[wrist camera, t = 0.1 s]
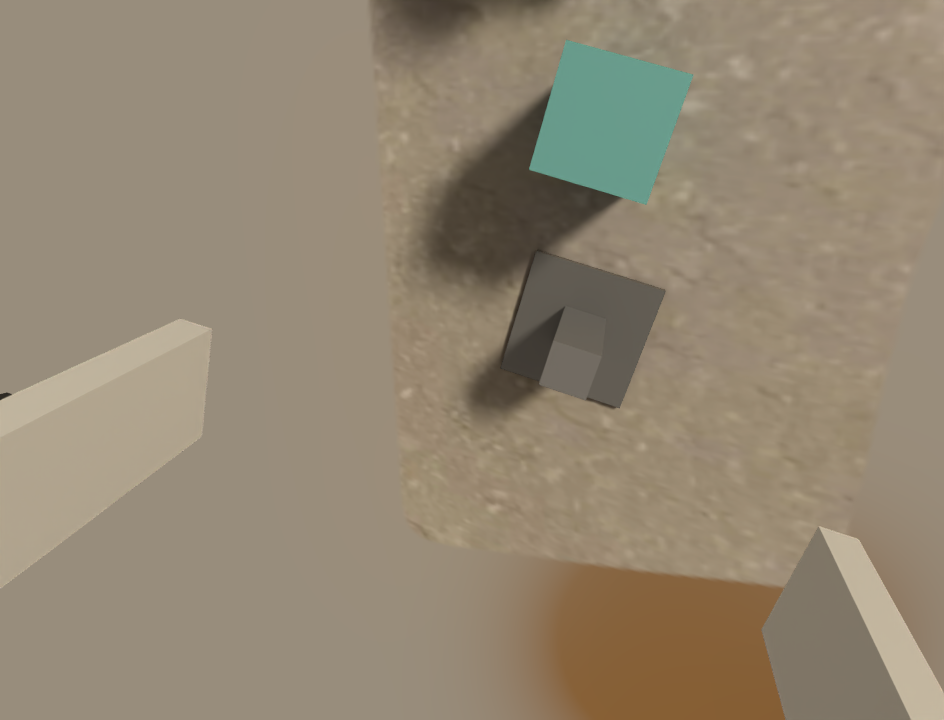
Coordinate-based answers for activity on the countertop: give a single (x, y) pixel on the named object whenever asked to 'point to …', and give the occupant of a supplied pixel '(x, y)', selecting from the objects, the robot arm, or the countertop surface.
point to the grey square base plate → (581, 328)
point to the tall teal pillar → (609, 121)
